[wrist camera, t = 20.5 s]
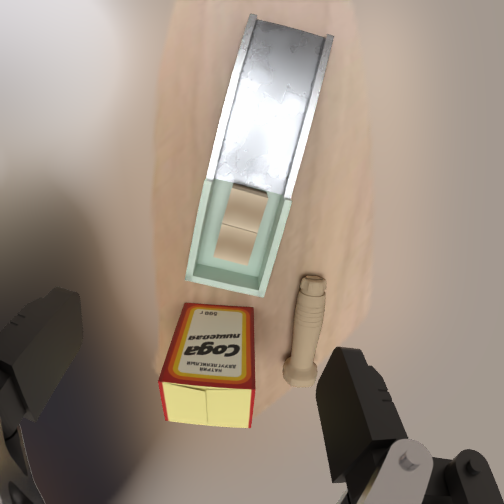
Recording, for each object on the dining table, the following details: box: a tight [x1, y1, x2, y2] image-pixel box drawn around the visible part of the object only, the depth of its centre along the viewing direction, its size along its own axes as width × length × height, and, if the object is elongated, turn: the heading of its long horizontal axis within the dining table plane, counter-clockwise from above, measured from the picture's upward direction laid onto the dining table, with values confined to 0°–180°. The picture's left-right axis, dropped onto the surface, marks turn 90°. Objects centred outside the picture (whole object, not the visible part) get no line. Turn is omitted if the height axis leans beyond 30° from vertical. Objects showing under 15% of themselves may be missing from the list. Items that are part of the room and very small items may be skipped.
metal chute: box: [206, 14, 334, 199], centre depth 32 cm, size 20×10×3 cm, turn 166°
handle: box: [283, 276, 326, 388], centre depth 41 cm, size 5×6×15 cm
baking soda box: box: [158, 303, 255, 428], centre depth 36 cm, size 10×6×16 cm
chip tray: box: [185, 179, 292, 298], centre depth 37 cm, size 12×10×4 cm
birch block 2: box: [213, 223, 257, 266], centre depth 36 cm, size 4×4×4 cm
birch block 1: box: [222, 183, 268, 233], centre depth 35 cm, size 4×4×4 cm
